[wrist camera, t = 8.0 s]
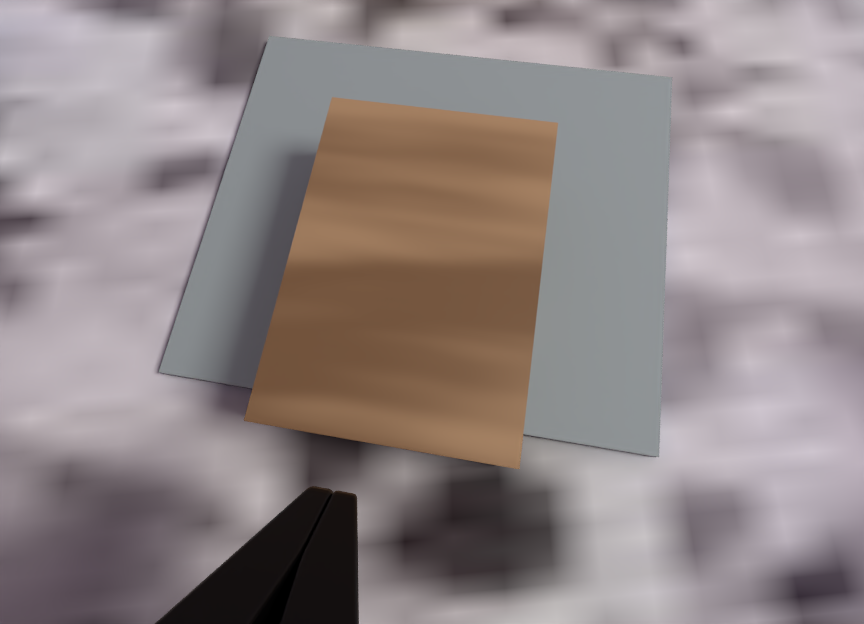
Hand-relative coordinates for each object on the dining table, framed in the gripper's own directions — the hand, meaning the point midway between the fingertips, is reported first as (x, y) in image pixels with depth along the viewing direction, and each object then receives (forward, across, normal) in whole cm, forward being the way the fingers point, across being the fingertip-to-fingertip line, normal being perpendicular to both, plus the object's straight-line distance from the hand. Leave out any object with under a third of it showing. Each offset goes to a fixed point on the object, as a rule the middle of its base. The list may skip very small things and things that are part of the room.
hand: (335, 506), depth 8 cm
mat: (+11, 0, -2) cm, 11 cm away
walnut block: (+4, 0, +2) cm, 5 cm away
